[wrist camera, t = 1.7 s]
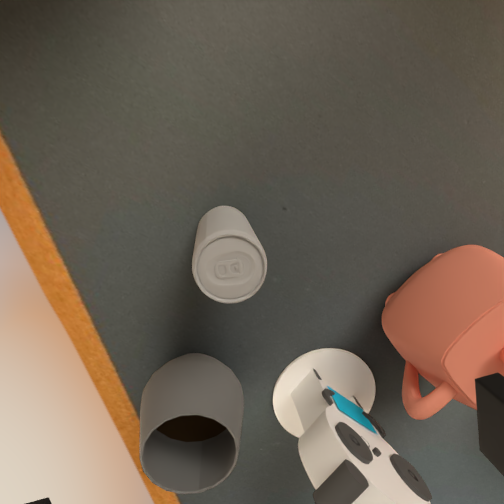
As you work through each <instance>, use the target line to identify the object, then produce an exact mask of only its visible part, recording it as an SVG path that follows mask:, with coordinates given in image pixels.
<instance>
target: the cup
mask: <svg viewBox="0 0 504 504" xmlns="http://www.w3.org/2000/svg"><path fill="white" fill-rule="evenodd" d="M243 412H244V397H243V392H242V386H241V384H240V382H239V380H238V379H237V377H236V376H235V374H234V373H233V371H232V370H231V369H230V368H228V367H227V366H226V365H224V364H223V363H221V362H220V361H219V360H217V359H215V358H214V357H211V356H208V355H205V354H201V353H189V354H186V355H183V356H180V357H177V358H175V359H173V360H170V361H168V362H167V363H166V364H164V365H163V366H162V367H161V368H159V369H158V370H157V371H156V372H154V373H153V375H152V376H151V378H150V380H149V381H148V383H147V384H146V386H145V388H144V390H143V394H142V400H141V407H140V461H141V465H142V468H143V472H144V473H145V474H146V475H147V477H148V478H149V479H150V480H151V481H152V483H154V484H155V485H157V486H159V487H161V488H162V489H164V490H166V491H170V492H175V493H180V494H190V493H200V492H203V491H205V490H208V489H211V488H214V487H215V486H217V485H218V484H219V483H221V482H222V481H224V480H225V479H226V478H227V477H228V476H229V475H230V473H231V472H232V470H233V469H234V467H235V466H236V462H237V458H238V454H239V447H240V438H241V430H242V421H243Z"/></svg>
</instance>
